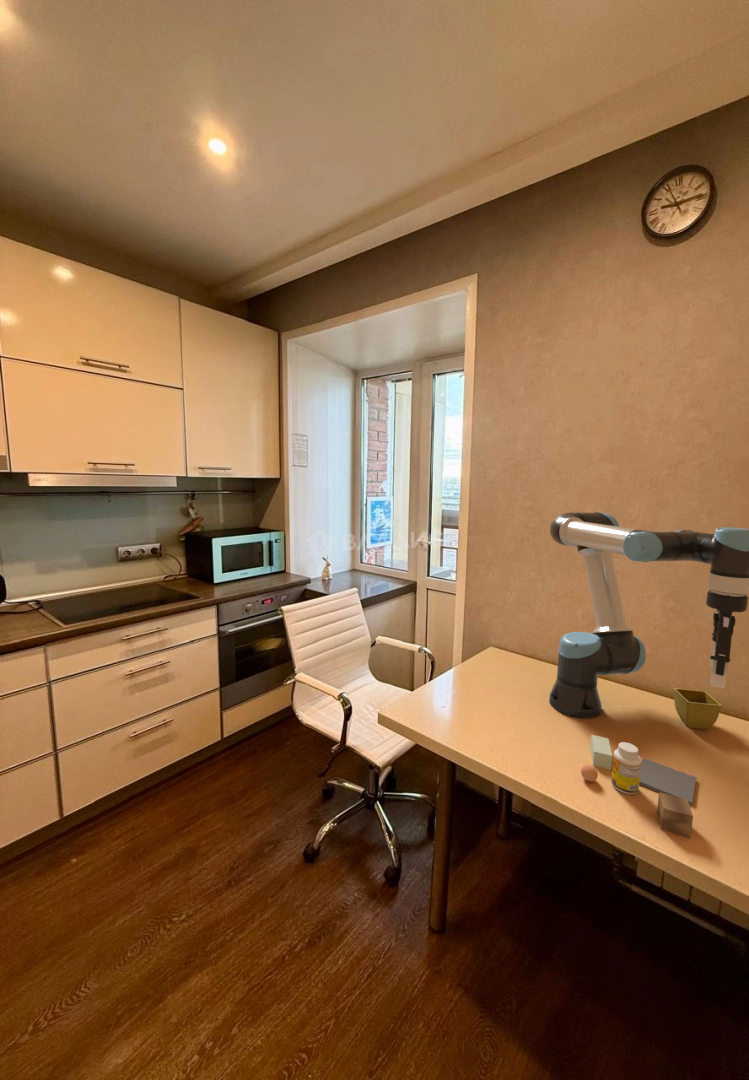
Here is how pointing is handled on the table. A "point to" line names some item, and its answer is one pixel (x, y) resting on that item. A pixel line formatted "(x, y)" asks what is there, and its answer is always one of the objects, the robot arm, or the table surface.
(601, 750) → the sage block
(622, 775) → the supplement bottle
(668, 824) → the walnut cube
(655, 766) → the slate coaster
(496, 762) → the table surface
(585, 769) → the terracotta ball
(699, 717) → the flower pot
